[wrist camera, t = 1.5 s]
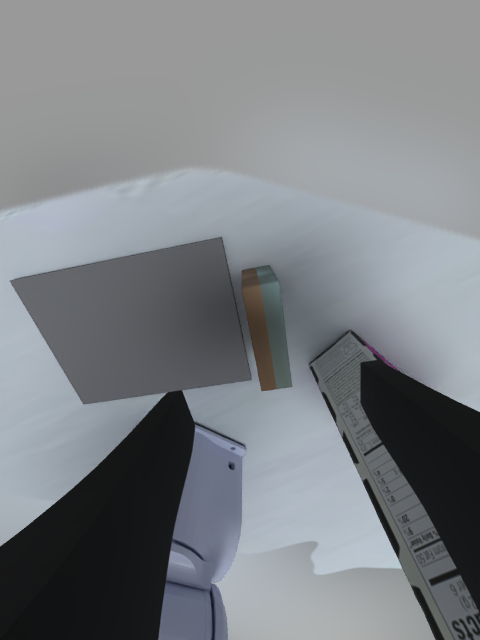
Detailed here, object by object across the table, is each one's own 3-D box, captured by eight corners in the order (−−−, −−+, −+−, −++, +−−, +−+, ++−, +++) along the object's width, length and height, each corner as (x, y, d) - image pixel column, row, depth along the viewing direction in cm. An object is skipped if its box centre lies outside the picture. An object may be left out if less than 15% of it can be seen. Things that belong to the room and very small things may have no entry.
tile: (269, 265, 17) (279, 281, 12) (280, 347, 19) (292, 386, 15) (242, 270, 17) (241, 288, 12) (257, 351, 20) (261, 391, 15)
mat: (221, 237, 16) (221, 237, 15) (251, 377, 20) (251, 380, 20) (14, 279, 17) (9, 280, 17) (86, 401, 22) (83, 404, 22)
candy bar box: (430, 395, 21) (899, 836, 6) (384, 425, 23) (665, 835, 8) (350, 323, 18) (851, 805, 3) (305, 363, 20) (496, 812, 5)
